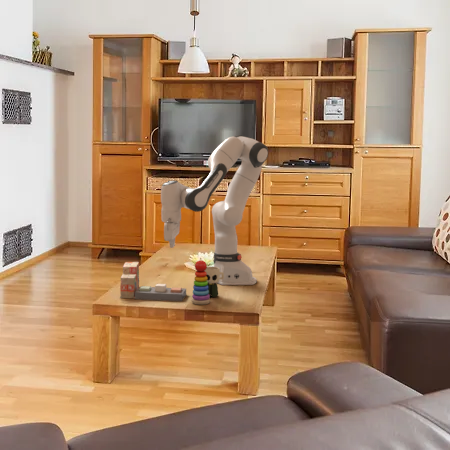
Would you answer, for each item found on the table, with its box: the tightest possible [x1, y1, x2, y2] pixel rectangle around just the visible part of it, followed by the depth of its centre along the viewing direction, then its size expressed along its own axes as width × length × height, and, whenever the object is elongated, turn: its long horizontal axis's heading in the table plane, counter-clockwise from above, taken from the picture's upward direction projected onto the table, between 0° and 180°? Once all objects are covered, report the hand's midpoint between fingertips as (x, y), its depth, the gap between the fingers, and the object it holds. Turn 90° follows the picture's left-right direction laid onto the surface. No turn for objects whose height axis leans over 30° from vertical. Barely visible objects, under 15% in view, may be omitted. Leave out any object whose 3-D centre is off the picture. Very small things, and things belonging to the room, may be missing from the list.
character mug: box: [205, 266, 224, 298], centre depth 302 cm, size 11×7×13 cm, turn 88°
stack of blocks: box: [119, 261, 140, 299], centre depth 307 cm, size 21×6×12 cm, turn 2°
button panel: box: [134, 286, 187, 302], centre depth 300 cm, size 21×11×3 cm, turn 84°
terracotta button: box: [171, 287, 183, 293], centre depth 299 cm, size 4×4×3 cm
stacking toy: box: [191, 259, 211, 306], centre depth 290 cm, size 8×8×19 cm
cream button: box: [154, 283, 167, 292], centre depth 300 cm, size 4×4×3 cm
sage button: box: [139, 285, 152, 291], centre depth 301 cm, size 4×4×3 cm
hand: (172, 247), depth 308 cm, fingers closed
